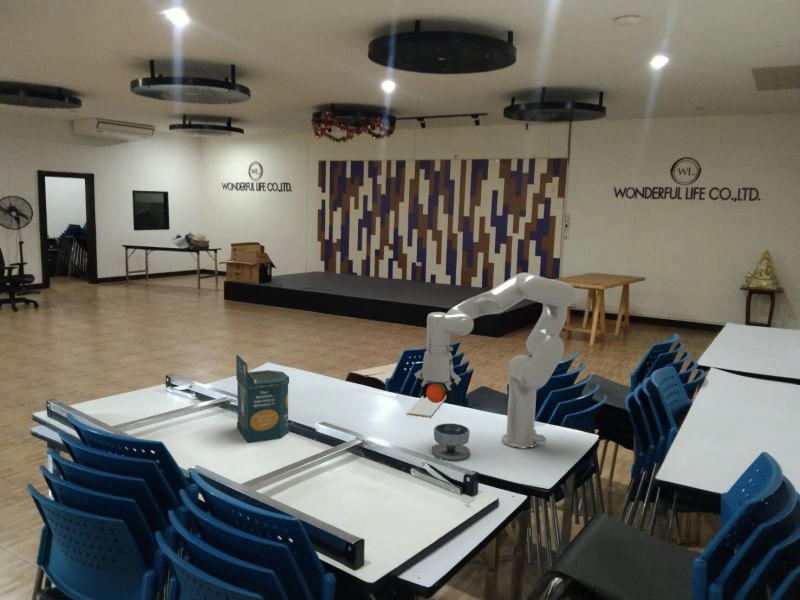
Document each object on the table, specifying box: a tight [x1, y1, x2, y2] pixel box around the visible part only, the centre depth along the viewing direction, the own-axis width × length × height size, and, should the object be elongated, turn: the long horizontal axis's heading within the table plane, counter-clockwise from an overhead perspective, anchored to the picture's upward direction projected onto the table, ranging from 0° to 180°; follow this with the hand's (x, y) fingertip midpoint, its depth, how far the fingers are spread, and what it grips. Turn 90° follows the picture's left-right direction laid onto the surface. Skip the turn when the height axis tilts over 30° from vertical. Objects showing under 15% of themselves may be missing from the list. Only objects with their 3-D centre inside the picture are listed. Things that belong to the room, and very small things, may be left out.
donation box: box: [235, 354, 290, 444], centre depth 220 cm, size 16×16×28 cm
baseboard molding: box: [405, 395, 446, 419], centre depth 259 cm, size 31×3×12 cm
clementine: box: [426, 382, 447, 403], centre depth 210 cm, size 8×7×7 cm
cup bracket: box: [431, 422, 471, 462], centre depth 207 cm, size 13×13×8 cm
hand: (437, 398), depth 211 cm, fingers closed on clementine, 7 cm apart
